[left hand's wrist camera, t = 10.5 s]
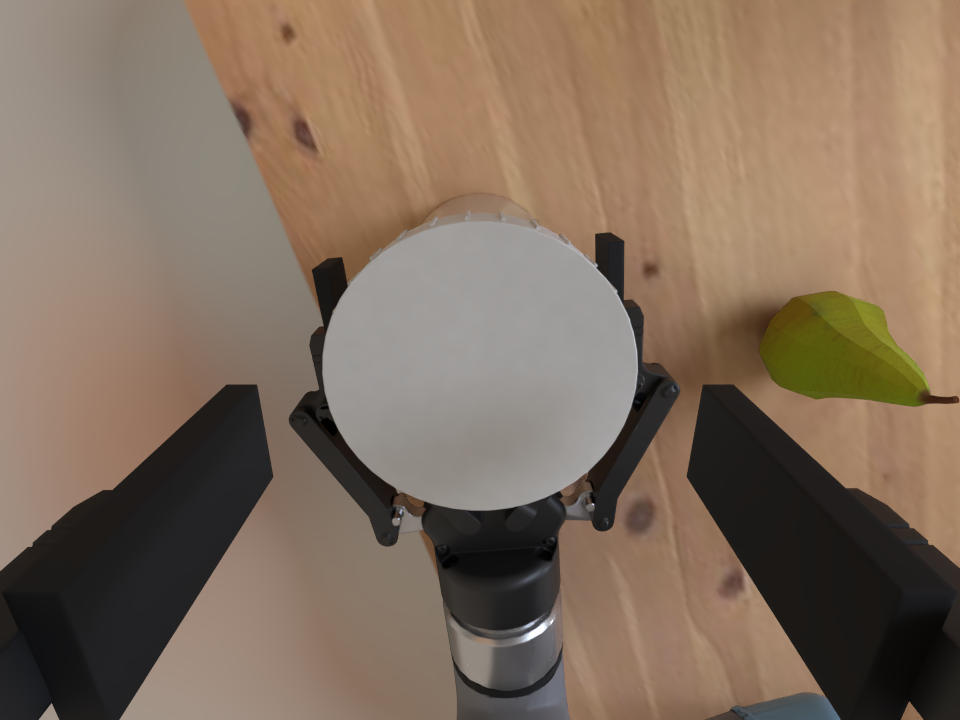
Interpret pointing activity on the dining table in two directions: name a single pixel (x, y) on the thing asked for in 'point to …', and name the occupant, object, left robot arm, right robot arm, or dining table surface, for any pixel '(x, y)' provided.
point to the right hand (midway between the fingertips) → (466, 249)
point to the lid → (479, 362)
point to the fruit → (841, 353)
